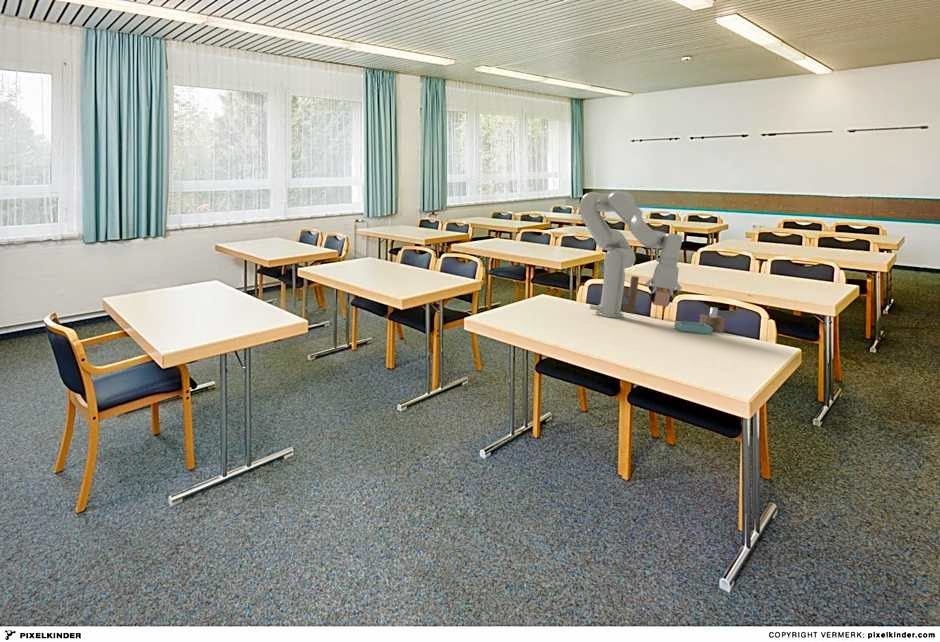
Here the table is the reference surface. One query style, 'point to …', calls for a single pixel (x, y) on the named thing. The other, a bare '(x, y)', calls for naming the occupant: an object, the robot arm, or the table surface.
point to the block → (661, 298)
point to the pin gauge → (713, 312)
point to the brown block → (713, 322)
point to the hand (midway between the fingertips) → (660, 302)
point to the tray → (693, 327)
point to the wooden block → (630, 296)
